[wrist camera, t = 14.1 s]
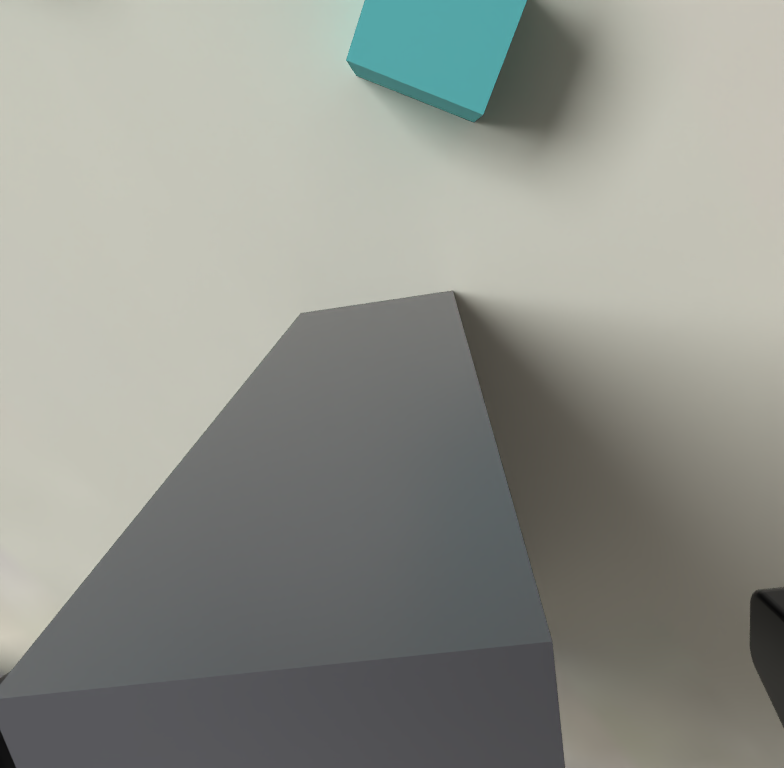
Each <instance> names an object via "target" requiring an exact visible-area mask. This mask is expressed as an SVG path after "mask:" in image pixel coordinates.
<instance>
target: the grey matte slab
mask: <svg viewBox="0 0 784 768" xmlns="http://www.w3.org/2000/svg"><path fill="white" fill-rule="evenodd" d="M0 731H1V733H2V735H3V738H4V740H5V742H6V745H7V747H8V750H9V752H10V754H11V757H12V759H13V761H14V764H15V766H16V768H565V763H564V753H563V743H562V733H561V723H560V713H559V703H558V693H557V684H556V674H555V664H554V654H553V644H552V639H551V635H550V632H549V628H548V625H547V621H546V618H545V614H544V611H543V607H542V603H541V600H540V596H539V593H538V589H537V586H536V582H535V579H534V575H533V572H532V568H531V565H530V561H529V558H528V554H527V551H526V547H525V544H524V540H523V536H522V533H521V529H520V526H519V522H518V519H517V515H516V512H515V508H514V505H513V501H512V498H511V494H510V491H509V487H508V484H507V480H506V476H505V473H504V469H503V466H502V462H501V459H500V455H499V452H498V448H497V445H496V441H495V438H494V434H493V431H492V427H491V424H490V420H489V417H488V413H487V409H486V406H485V402H484V399H483V395H482V392H481V388H480V385H479V381H478V378H477V374H476V371H475V367H474V364H473V360H472V357H471V353H470V349H469V346H468V342H467V339H466V335H465V332H464V328H463V325H462V321H461V318H460V314H459V311H458V307H457V304H456V300H455V297H454V293H453V291H447V292H440V293H433V294H427V295H420V296H413V297H406V298H400V299H393V300H386V301H380V302H373V303H366V304H359V305H353V306H346V307H339V308H333V309H326V310H319V311H312V312H306V313H301V314H300V315H299V316H298V317H297V318H296V320H295V321H294V322H293V323H292V325H291V326H290V327H289V328H288V330H287V331H286V332H285V333H284V335H283V336H282V337H281V338H280V339H279V341H278V342H277V343H276V344H275V346H274V347H273V348H272V349H271V351H270V352H269V353H268V354H267V356H266V357H265V358H264V359H263V360H262V362H261V363H260V364H259V365H258V367H257V368H256V369H255V370H254V372H253V373H252V374H251V375H250V377H249V378H248V379H247V380H246V381H245V383H244V384H243V385H242V386H241V388H240V389H239V390H238V391H237V393H236V394H235V395H234V396H233V398H232V399H231V400H230V401H229V402H228V404H227V405H226V406H225V407H224V409H223V410H222V411H221V412H220V414H219V415H218V416H217V417H216V419H215V420H214V421H213V422H212V423H211V425H210V426H209V427H208V428H207V430H206V431H205V432H204V433H203V435H202V436H201V437H200V438H199V440H198V441H197V442H196V443H195V444H194V446H193V447H192V448H191V449H190V451H189V452H188V453H187V454H186V456H185V457H184V458H183V459H182V461H181V462H180V463H179V464H178V465H177V467H176V468H175V469H174V470H173V472H172V473H171V474H170V475H169V477H168V478H167V479H166V480H165V482H164V483H163V484H162V485H161V486H160V488H159V489H158V490H157V491H156V493H155V494H154V495H153V496H152V498H151V499H150V500H149V501H148V502H147V504H146V505H145V506H144V507H143V509H142V510H141V511H140V512H139V514H138V515H137V516H136V517H135V519H134V520H133V521H132V522H131V523H130V525H129V526H128V527H127V528H126V530H125V531H124V532H123V533H122V535H121V536H120V537H119V538H118V540H117V541H116V542H115V543H114V544H113V546H112V547H111V548H110V549H109V551H108V552H107V553H106V554H105V556H104V557H103V558H102V559H101V561H100V562H99V563H98V564H97V565H96V567H95V568H94V569H93V570H92V572H91V573H90V574H89V575H88V577H87V578H86V579H85V580H84V582H83V583H82V584H81V585H80V586H79V588H78V589H77V590H76V591H75V593H74V594H73V595H72V596H71V598H70V599H69V600H68V601H67V603H66V604H65V605H64V606H63V607H62V609H61V610H60V611H59V612H58V614H57V615H56V616H55V617H54V619H53V620H52V621H51V622H50V624H49V625H48V626H47V627H46V628H45V630H44V631H43V632H42V633H41V635H40V636H39V637H38V638H37V640H36V641H35V642H34V643H33V645H32V646H31V647H30V648H29V649H28V651H27V652H26V653H25V654H24V656H23V657H22V658H21V659H20V661H19V662H18V663H17V664H16V666H15V667H14V668H13V669H12V670H11V672H10V673H9V674H8V675H7V677H6V678H5V679H4V680H3V682H2V683H1V684H0Z"/></svg>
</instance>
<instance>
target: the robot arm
mask: <svg viewBox="0 0 784 768" xmlns="http://www.w3.org/2000/svg"><path fill="white" fill-rule="evenodd" d="M750 651H751V656H752V660H753V663H754V666H755V668H756V670H757V672H758V674H759V677H760V679H761V681H762V683H763V685H764V687H765V689H766V691H767V693H768V696H769V698H770V700H771V702H772V704H773V706H774V708H775V710H776V712H777V715H778V717H779V719H780V721H781V723H782V725H783V727H784V587H780V588H771V589H761V590H756V591H755V592H754V593H753V594H752V597H751V601H750ZM10 672H11V671H10ZM10 672H9V673H10ZM9 673H7V674H5V675H4V676H2V677H1V678H0V684H1V683H2V682H3V680H4V679H5V678H6V677H7V675H8V674H9ZM0 768H16V766H15V764H14V761H13V759H12V757H11V754H10V752H9V750H8V747H7V745H6V742H5V740H4V738H3V735H2V733H1V731H0Z"/></svg>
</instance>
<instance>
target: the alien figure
mask: <svg viewBox="0 0 784 768" xmlns="http://www.w3.org/2000/svg"><path fill="white" fill-rule="evenodd" d="M526 2H527V0H365V2H364V5H363V8H362V11H361V14H360V18H359V21H358V24H357V27H356V30H355V34H354V37H353V40H352V43H351V46H350V49H349V53H348V56H347V59H346V61H347V62H348V64H349V65H350V67H351V68H352V70H353V71H354V73H355V74H356V76H358V77H361V78H363V79H366V80H368V81H371V82H373V83H376V84H378V85H381V86H383V87H386V88H389V89H391V90H394V91H396V92H399V93H401V94H404V95H406V96H409V97H411V98H414V99H416V100H419V101H421V102H424V103H426V104H429V105H431V106H434V107H436V108H439V109H441V110H444V111H446V112H449V113H451V114H454V115H456V116H459V117H461V118H464V119H466V120H469V121H472V122H475V121H476V120H477V119H479V118H480V117H481V116H482V115H483V114H484V111H485V109H486V106H487V104H488V101H489V98H490V96H491V93H492V91H493V88H494V85H495V83H496V80H497V77H498V75H499V72H500V70H501V67H502V64H503V62H504V59H505V57H506V54H507V51H508V49H509V46H510V44H511V41H512V38H513V36H514V33H515V31H516V28H517V25H518V23H519V20H520V17H521V15H522V12H523V10H524V7H525V4H526Z"/></svg>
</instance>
